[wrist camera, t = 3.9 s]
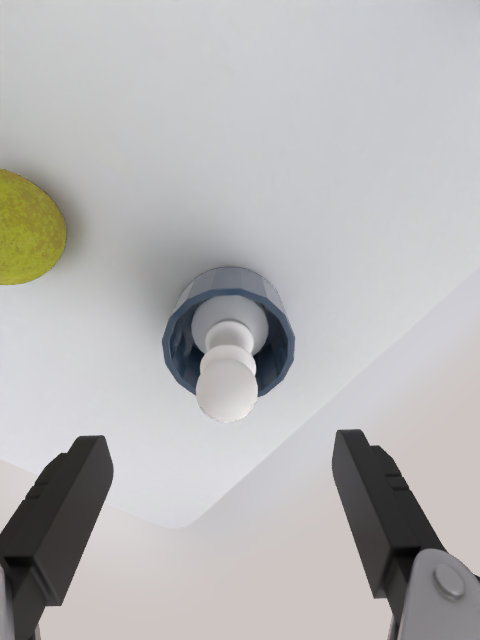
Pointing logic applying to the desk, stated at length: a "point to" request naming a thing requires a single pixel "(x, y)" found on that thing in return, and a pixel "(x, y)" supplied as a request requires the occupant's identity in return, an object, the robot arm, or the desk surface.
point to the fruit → (27, 230)
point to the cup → (229, 282)
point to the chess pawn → (228, 354)
